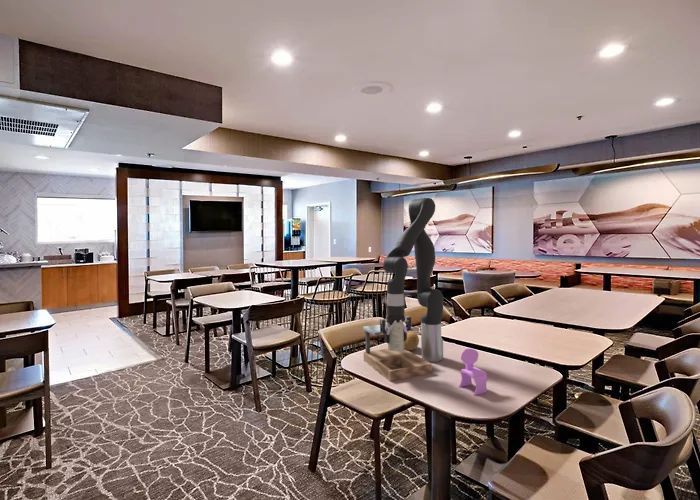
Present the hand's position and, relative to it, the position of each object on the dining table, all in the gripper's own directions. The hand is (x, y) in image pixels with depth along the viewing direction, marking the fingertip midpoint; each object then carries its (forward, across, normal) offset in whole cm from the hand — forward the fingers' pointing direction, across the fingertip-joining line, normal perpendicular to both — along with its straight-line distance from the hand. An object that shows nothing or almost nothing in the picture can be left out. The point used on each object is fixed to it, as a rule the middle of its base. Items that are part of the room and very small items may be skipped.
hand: (395, 341), depth 158 cm
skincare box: (+4, 0, 0) cm, 4 cm away
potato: (+13, -21, -26) cm, 36 cm away
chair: (+13, -18, +27) cm, 35 cm away
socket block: (+13, -3, -6) cm, 15 cm away
